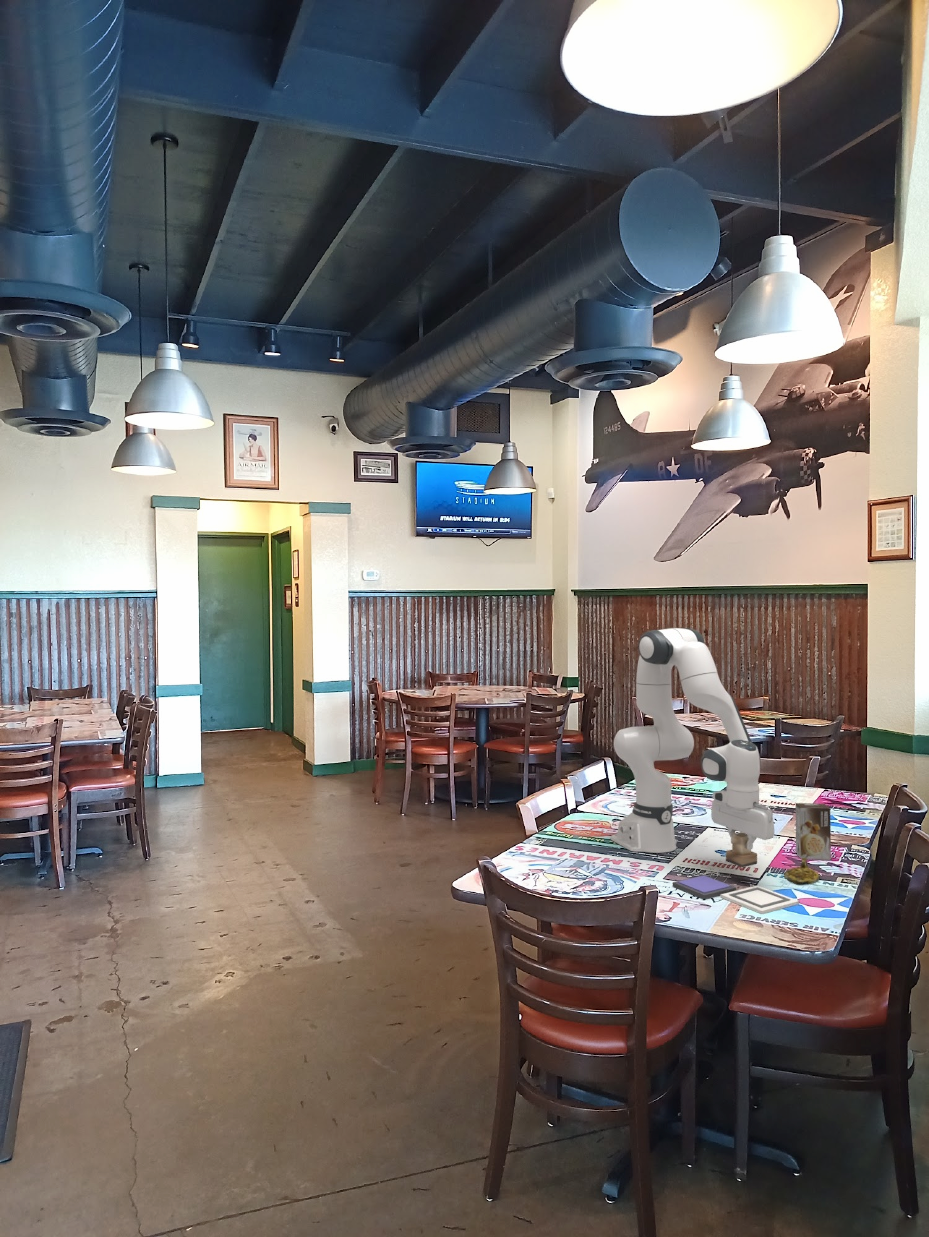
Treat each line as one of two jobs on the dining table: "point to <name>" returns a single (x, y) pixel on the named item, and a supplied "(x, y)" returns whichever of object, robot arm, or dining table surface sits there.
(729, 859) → the stamp
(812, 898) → the dining table surface
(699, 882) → the ink pad
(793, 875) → the seal
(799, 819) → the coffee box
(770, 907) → the board
